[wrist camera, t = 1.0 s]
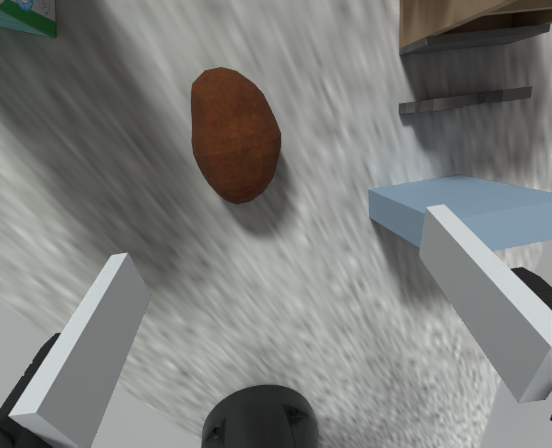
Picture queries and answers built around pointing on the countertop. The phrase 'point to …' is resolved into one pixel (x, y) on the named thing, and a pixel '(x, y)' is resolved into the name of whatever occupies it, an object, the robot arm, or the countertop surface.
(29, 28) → the milk carton
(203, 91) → the potato
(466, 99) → the cabinet
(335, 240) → the countertop surface
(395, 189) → the block
